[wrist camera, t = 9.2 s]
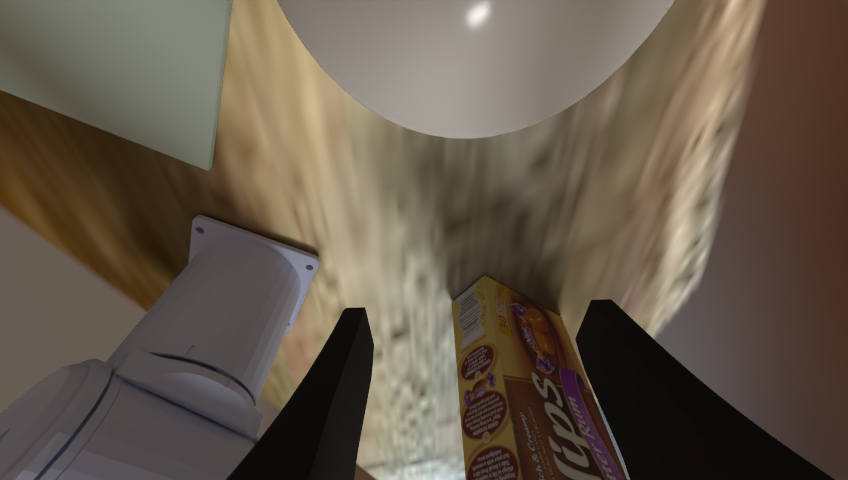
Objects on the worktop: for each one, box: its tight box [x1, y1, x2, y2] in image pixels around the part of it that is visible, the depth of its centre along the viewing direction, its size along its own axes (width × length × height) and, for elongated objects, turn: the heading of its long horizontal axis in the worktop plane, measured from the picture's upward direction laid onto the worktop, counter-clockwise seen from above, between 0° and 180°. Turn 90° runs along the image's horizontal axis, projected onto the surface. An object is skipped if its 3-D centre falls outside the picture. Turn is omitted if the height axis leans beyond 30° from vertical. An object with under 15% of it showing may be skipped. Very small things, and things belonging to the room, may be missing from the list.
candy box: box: [452, 275, 627, 480], centre depth 20 cm, size 9×4×15 cm, turn 55°
